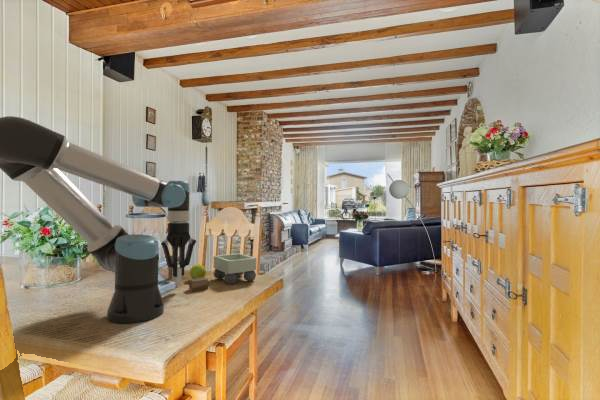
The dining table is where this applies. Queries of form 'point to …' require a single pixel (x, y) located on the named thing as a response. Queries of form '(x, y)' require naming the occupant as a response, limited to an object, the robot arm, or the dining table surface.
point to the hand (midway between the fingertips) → (178, 284)
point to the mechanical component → (171, 269)
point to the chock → (198, 284)
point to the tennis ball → (197, 271)
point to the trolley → (234, 267)
